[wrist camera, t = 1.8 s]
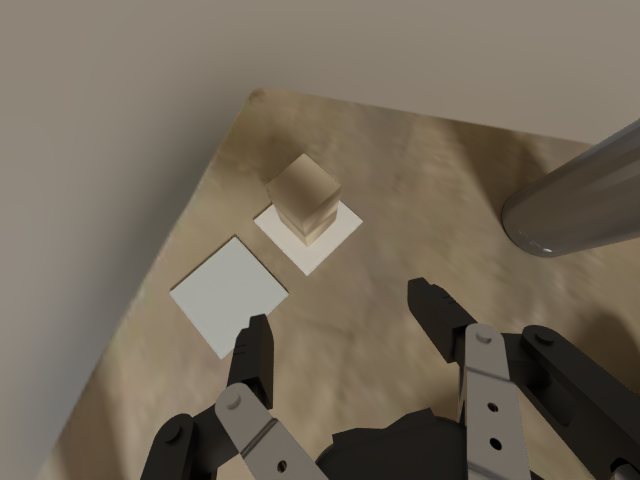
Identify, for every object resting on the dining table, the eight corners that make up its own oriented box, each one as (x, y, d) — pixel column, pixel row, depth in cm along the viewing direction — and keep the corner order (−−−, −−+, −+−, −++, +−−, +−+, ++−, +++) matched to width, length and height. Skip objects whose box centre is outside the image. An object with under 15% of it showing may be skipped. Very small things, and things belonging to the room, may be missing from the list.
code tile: (309, 174, 33) (309, 172, 33) (362, 222, 31) (363, 221, 31) (254, 221, 31) (253, 220, 31) (307, 276, 29) (306, 275, 29)
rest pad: (236, 237, 31) (235, 236, 30) (289, 294, 28) (288, 293, 28) (171, 293, 29) (169, 293, 28) (222, 358, 26) (221, 359, 26)
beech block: (308, 196, 32) (304, 153, 23) (335, 221, 31) (341, 185, 22) (280, 220, 31) (265, 185, 22) (307, 247, 30) (302, 221, 21)
